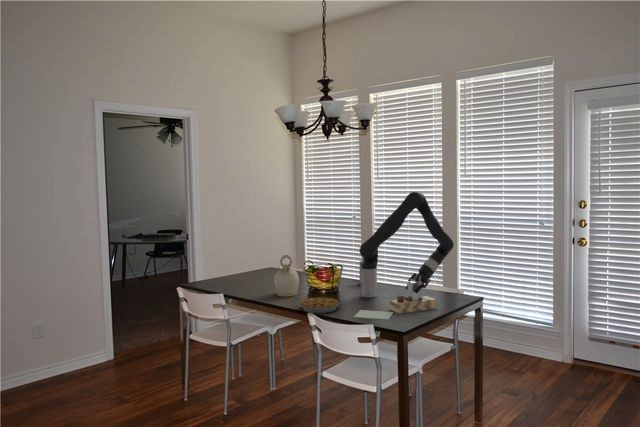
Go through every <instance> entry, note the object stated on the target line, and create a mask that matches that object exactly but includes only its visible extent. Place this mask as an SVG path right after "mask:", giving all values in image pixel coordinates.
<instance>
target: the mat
mask: <svg viewBox="0 0 640 427" xmlns="http://www.w3.org/2000/svg"><path fill="white" fill-rule="evenodd" d="M393 314H394V311H382V310H381V311H380V310H378V311H377V310H366V309H365V310H364V309H360V310H359V311H358V312H357V313H356V314H355V315H354V316H353V318H356V319H368V320H370V319H372V320H383V321H386V320H387V321H389V319H390V318H391V317H392V316H393Z"/></svg>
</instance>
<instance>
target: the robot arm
mask: <svg viewBox="0 0 640 427" xmlns="http://www.w3.org/2000/svg"><path fill="white" fill-rule="evenodd" d="M415 209H416V210H417V211H418V212H419V213H420V215H421V216H422V219H423V222H424V224H425V227H426V229H427V230H428V232H429V233H430V234H431V236H432V237H433V239H434V240H437V241H438V243H439V245H438V246H437V247H436V248H435V250H434V251H433V252H432V253H431V254H430V256H429V257H428V258H427V259H426V260H425V261H424V262H423V264H422V265H421V266H420V268H419V269H418V273H417V274H416V273H415V272H414V273H413V274H412V275H411V276H410V278H409V279H408V280H407V282H408V281H416V282H419V286H417V288H416V289H415V290H414V292H415V293H418V292H419V293H420V291H421V289H425V288H427V286H428V285H429V284H430V282H431V277H432V276H433V275H434V274H435V273H436V272H437V270H438V268H439V267H440V265H442V263H443V261H444V259H445V258H446V257H447V256H448V255H449V254H450V253H451V251H452V250H453V248H454V241H453V240H452V238H451V237H450V236H449V234H447V232H445V230H444V228H443V226H441V224H440V223H439V221H438V219H437V218H436V216H435V214H434V213H433V211H432V209H431V207H430V205H429V202H428V201H427V199H426V196H425V194H423V193H421V192H420V191H411V192H409V193H408V194H407V196H406V197H405V198H404V200H403V201H402V202H401V203H400V205H399V206H398V207H397V208H396V209H395V210H394V211H393V212H392V213H391V214H390V215H389V216H388V217H387V218H386V219H385V220H384V222H383V221H382V222H383V223H382V224H380V226H379V227H378V228H377V229H376V231H375V232H374V233H373V234H372V235H371V236H370V237H369V238H368V239H367V240H366V241H365V242H363V243H362V244H361V245H360V247H359V254H360V256H361V257H362V258H363V259H362V261H363V262H362V281H361V284H360V297H361V298H368V299H369V298H371V299H373V298H377V296H378V262H379V247H380V246H381V245H382V244H383V243H384V242H386V241H387V240H388V239H390V238H392V236H394V235H395V234H396V233H397V232H398V231H399V230H400V229H401V227H402V226H403V224H404V222H405V221H406V218H407V217H408V216H409V215H410V214H411V212H412V211H414V210H415ZM405 289H406V290H407V291H408V284H407V285H406V287H405Z"/></svg>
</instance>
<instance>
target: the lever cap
mask: <svg viewBox="0 0 640 427" xmlns="http://www.w3.org/2000/svg"><path fill="white" fill-rule="evenodd" d="M407 285H408V290H407V297H409V298H412V299H413V301H418V300H419V297H420V291H419V292H418V293H415V292H414V290H415V289H416V288H417V286H419V282H416V281H408V280H407Z"/></svg>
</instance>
